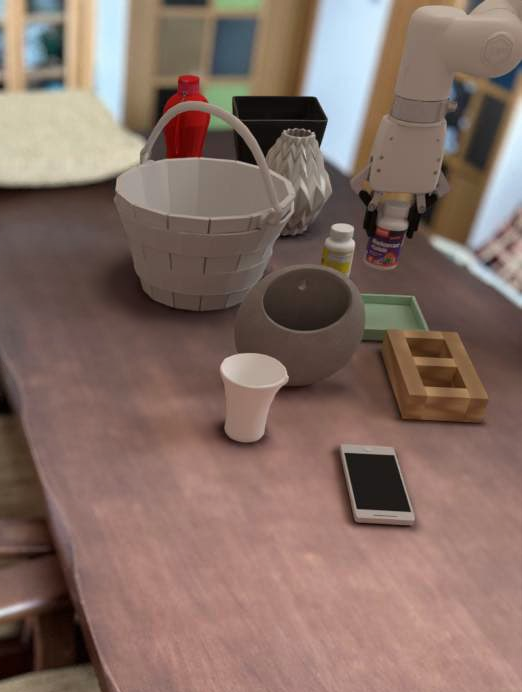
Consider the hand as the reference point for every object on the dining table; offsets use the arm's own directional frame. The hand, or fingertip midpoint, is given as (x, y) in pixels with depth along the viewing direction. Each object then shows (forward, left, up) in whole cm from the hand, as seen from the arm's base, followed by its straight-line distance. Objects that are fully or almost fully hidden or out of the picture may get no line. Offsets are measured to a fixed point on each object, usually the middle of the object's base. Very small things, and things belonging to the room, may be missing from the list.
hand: (388, 233), depth 130 cm
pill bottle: (0, 0, -5) cm, 5 cm away
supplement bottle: (+4, -16, -15) cm, 23 cm away
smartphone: (+6, +46, -15) cm, 49 cm away
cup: (+22, +35, -15) cm, 44 cm away
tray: (0, 0, -15) cm, 15 cm away
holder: (-6, +20, -15) cm, 26 cm away
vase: (+11, -40, -15) cm, 44 cm away
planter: (+15, +22, -15) cm, 31 cm away
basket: (+29, -11, -15) cm, 35 cm away
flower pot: (+13, -65, -15) cm, 68 cm away
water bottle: (+33, -51, -15) cm, 63 cm away
